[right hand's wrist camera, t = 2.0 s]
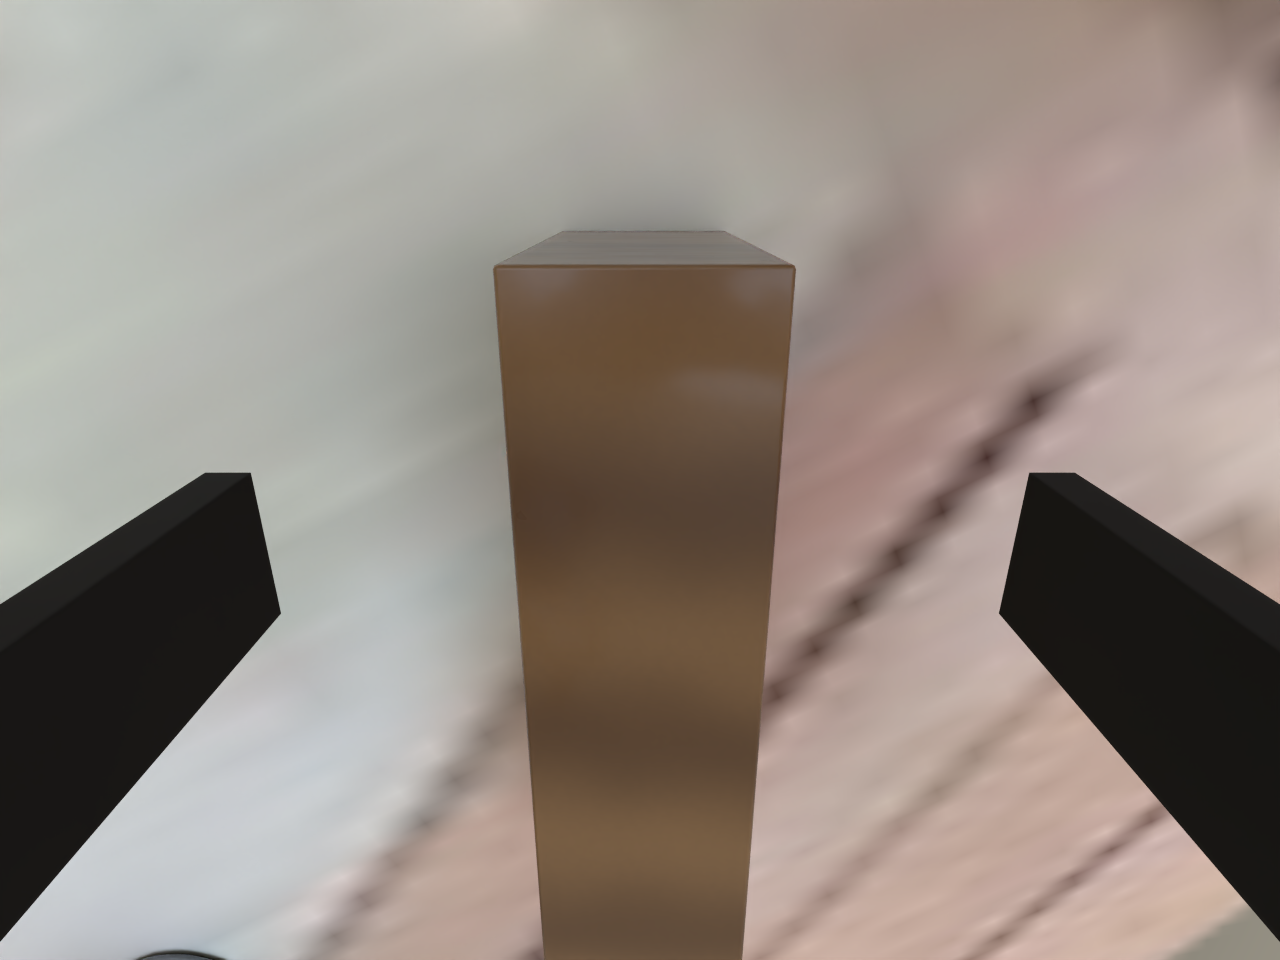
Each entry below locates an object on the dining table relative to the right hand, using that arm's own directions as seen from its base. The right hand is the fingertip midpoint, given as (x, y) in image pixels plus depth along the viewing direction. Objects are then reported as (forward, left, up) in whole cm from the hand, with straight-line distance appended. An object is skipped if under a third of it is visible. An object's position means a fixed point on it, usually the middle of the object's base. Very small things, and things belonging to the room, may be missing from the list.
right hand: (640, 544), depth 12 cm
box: (+4, +6, -16) cm, 18 cm away
